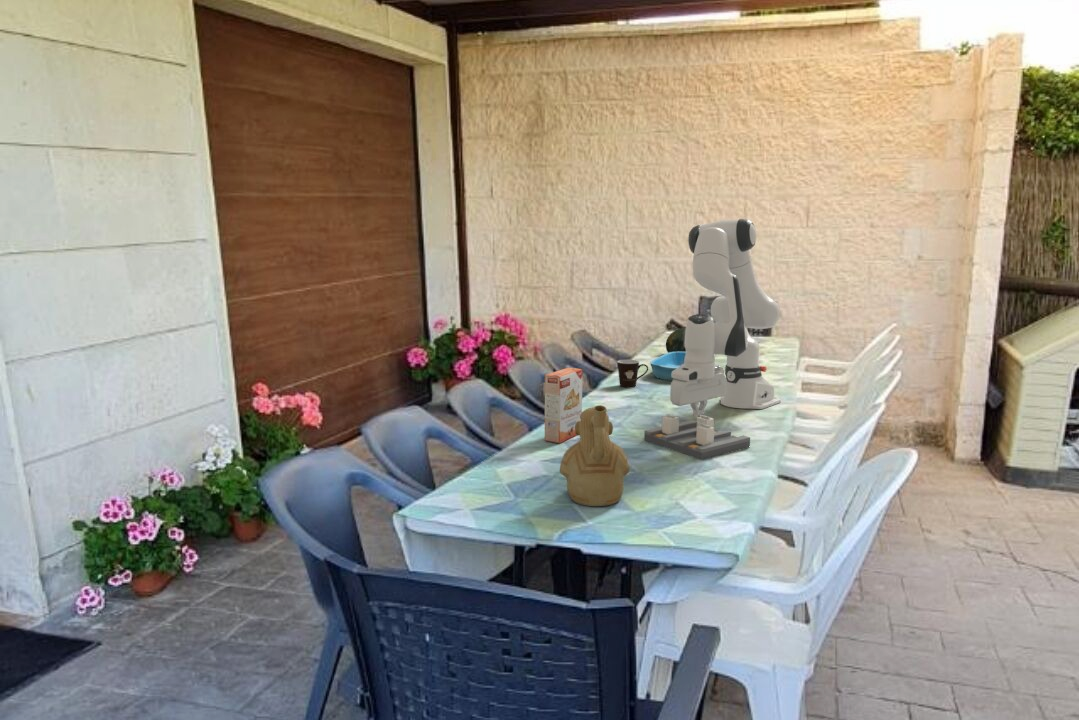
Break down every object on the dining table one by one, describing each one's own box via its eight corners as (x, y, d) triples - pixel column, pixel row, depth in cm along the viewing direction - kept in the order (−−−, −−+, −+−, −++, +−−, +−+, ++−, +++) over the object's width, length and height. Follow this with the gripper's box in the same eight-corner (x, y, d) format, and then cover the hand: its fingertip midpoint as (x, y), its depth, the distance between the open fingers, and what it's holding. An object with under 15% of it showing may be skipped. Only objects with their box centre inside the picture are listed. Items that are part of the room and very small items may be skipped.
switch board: (691, 429, 252) (691, 420, 251) (749, 447, 232) (750, 437, 232) (644, 439, 241) (644, 430, 240) (701, 459, 221) (701, 449, 220)
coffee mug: (614, 387, 312) (614, 362, 310) (620, 383, 320) (620, 359, 318) (643, 389, 308) (643, 364, 306) (648, 385, 316) (648, 360, 314)
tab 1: (669, 430, 242) (669, 413, 241) (678, 433, 239) (678, 415, 238) (662, 432, 240) (662, 414, 239) (671, 435, 237) (671, 417, 236)
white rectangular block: (703, 431, 240) (704, 414, 239) (713, 434, 237) (713, 416, 236) (696, 433, 239) (697, 415, 238) (706, 436, 235) (706, 418, 234)
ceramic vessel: (623, 483, 202) (624, 389, 198) (635, 512, 183) (636, 408, 178) (557, 485, 202) (557, 390, 197) (562, 514, 183) (561, 409, 178)
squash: (658, 342, 385) (669, 321, 374) (686, 341, 390) (697, 321, 379) (667, 364, 377) (678, 345, 366) (695, 364, 382) (707, 344, 370)
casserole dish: (695, 385, 315) (695, 368, 314) (642, 380, 326) (643, 363, 324) (720, 369, 347) (721, 353, 346) (671, 365, 357) (672, 349, 356)
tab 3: (703, 441, 231) (704, 422, 230) (713, 444, 227) (714, 425, 226) (696, 442, 229) (696, 424, 228) (706, 446, 226) (706, 427, 225)
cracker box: (560, 444, 237) (560, 376, 233) (543, 441, 240) (543, 374, 236) (583, 433, 249) (583, 368, 245) (566, 430, 252) (566, 366, 248)
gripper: (715, 363, 241) (714, 407, 243) (667, 373, 229) (666, 418, 232) (731, 366, 235) (730, 411, 238) (682, 376, 224) (681, 423, 227)
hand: (698, 415), depth 235 cm, fingers closed
